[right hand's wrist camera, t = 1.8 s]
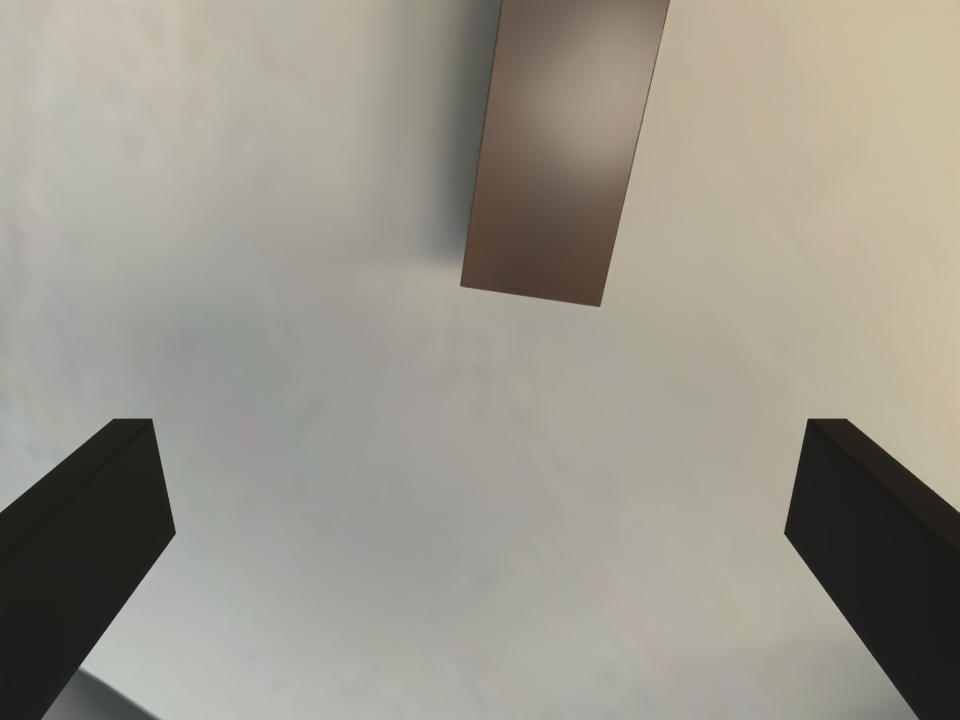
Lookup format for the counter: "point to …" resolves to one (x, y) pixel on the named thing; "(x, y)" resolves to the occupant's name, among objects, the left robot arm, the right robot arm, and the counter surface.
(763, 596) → the counter surface
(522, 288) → the walnut beam
